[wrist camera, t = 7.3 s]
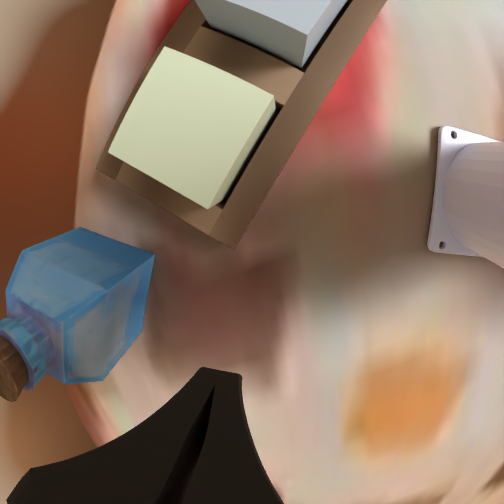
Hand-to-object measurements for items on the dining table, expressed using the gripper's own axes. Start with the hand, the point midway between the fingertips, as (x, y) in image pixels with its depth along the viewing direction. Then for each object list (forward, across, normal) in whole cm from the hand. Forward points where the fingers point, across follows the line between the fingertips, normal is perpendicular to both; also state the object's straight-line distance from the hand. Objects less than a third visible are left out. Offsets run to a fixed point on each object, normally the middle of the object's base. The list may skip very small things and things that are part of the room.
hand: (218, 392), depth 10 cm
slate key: (+8, 0, -16) cm, 18 cm away
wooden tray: (+10, 0, -16) cm, 19 cm away
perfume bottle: (+11, +10, +2) cm, 15 cm away
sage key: (+9, +3, -9) cm, 13 cm away
